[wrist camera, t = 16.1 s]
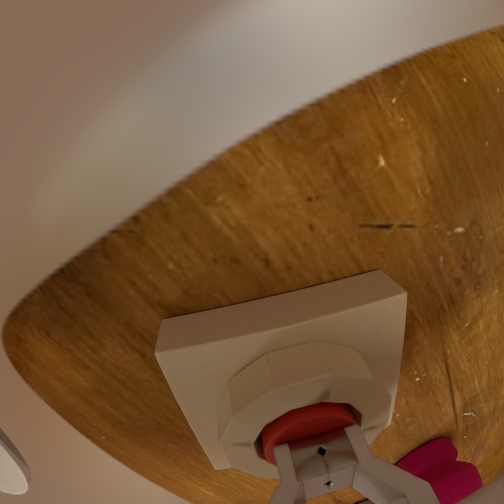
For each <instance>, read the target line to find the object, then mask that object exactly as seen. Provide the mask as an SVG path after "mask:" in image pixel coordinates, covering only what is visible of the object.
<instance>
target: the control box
mask: <svg viewBox="0 0 504 504" xmlns="http://www.w3.org/2000/svg"><path fill="white" fill-rule="evenodd" d="M406 308H407V292H406V291H405V290H404V289H403V288H402V287H401V286H400V285H398V284H397V283H396V282H395V281H394V280H393V279H392V278H390V277H389V276H388V275H387V274H386V273H385V272H384V271H382V270H381V269H379V270H375V271H372V272H368V273H364V274H360V275H357V276H353V277H349V278H345V279H341V280H337V281H333V282H329V283H325V284H321V285H317V286H313V287H309V288H305V289H301V290H297V291H293V292H289V293H284V294H280V295H276V296H271V297H267V298H263V299H258V300H254V301H249V302H245V303H240V304H236V305H231V306H226V307H222V308H217V309H212V310H207V311H202V312H198V313H193V314H188V315H182V316H177V317H172V318H167V319H163V320H162V321H161V325H160V329H159V334H158V338H157V343H156V347H155V352H154V354H155V356H156V358H157V361H158V363H159V365H160V367H161V369H162V371H163V374H164V376H165V378H166V380H167V382H168V384H169V386H170V388H171V390H172V392H173V394H174V396H175V398H176V400H177V402H178V404H179V406H180V408H181V410H182V412H183V414H184V416H185V417H186V419H187V421H188V423H189V425H190V427H191V429H192V430H193V432H194V434H195V436H196V438H197V439H198V441H199V443H200V445H201V446H202V448H203V450H204V452H205V453H206V455H207V457H208V458H209V460H210V462H211V463H212V465H213V467H214V468H215V470H221V469H228V468H235V469H237V470H240V471H242V472H244V473H247V474H249V475H252V476H254V477H257V478H269V479H280V478H279V473H278V468H277V466H275V465H273V464H271V463H270V462H269V461H268V460H267V459H266V457H265V454H264V448H263V443H262V438H261V431H262V429H263V427H264V426H265V425H266V424H268V423H270V422H271V421H273V420H275V419H276V418H278V417H280V416H281V415H283V414H284V413H286V412H288V411H289V410H293V409H297V408H300V407H304V406H308V405H312V404H315V403H319V402H333V403H346V404H347V406H348V408H349V410H350V412H351V414H352V416H353V418H354V420H355V422H356V424H358V425H359V427H360V429H361V431H362V433H363V435H364V437H365V439H366V441H367V443H368V445H370V444H371V443H372V442H373V441H374V440H375V439H376V437H377V436H378V435H379V434H380V433H381V432H382V430H383V429H384V428H385V427H387V426H390V425H391V420H392V415H393V410H394V405H395V399H396V393H397V387H398V381H399V374H400V367H401V359H402V351H403V342H404V333H405V322H406Z"/></svg>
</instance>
